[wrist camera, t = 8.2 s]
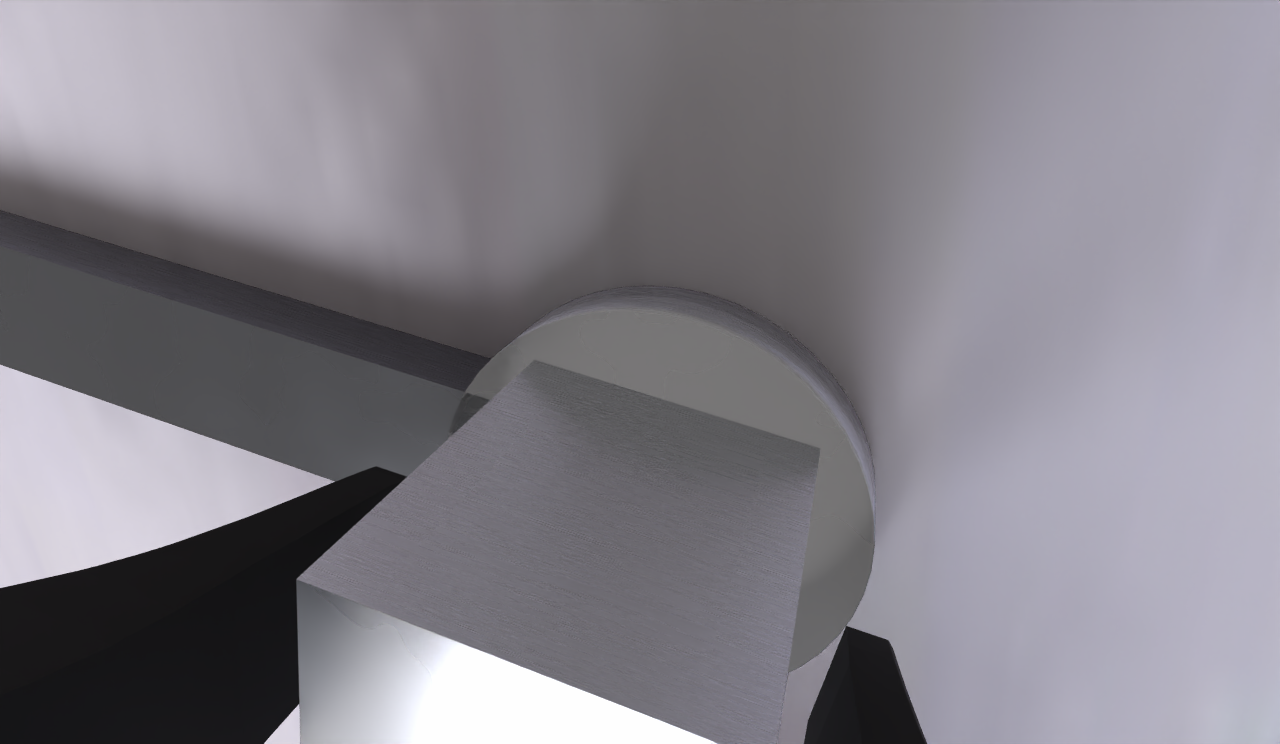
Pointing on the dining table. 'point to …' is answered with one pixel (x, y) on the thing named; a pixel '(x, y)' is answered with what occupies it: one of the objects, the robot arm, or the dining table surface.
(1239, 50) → the dining table surface
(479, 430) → the brushed metal cube
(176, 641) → the robot arm
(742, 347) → the ratchet
